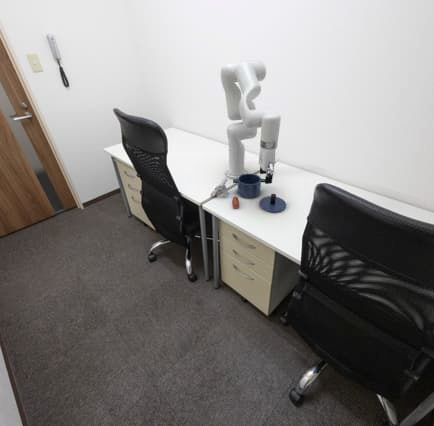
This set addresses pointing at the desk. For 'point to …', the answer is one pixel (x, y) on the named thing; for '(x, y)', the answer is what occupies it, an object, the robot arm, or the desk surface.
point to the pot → (249, 185)
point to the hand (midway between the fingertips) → (265, 178)
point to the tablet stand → (221, 186)
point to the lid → (272, 203)
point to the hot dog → (235, 202)
